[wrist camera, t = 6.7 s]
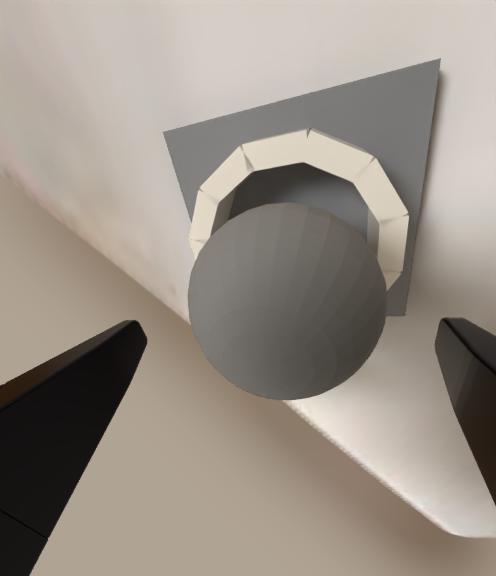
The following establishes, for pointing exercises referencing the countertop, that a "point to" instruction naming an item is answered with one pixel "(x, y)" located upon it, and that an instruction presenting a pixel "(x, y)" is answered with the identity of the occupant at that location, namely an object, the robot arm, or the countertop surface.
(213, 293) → the light bulb
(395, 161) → the socket
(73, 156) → the countertop surface
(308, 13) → the countertop surface
